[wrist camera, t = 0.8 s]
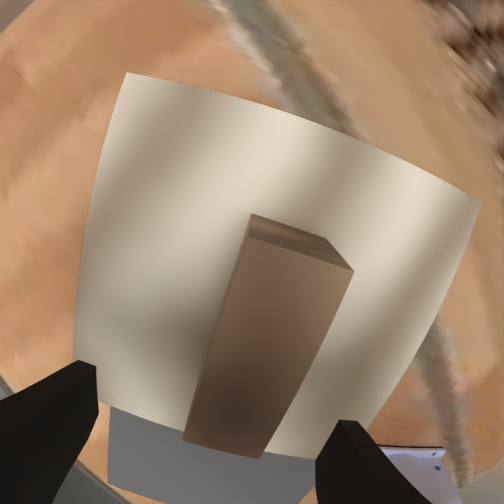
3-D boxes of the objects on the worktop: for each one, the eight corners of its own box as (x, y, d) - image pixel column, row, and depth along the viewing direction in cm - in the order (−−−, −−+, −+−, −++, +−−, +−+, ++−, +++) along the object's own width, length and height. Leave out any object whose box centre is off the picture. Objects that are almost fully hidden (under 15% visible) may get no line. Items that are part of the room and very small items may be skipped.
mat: (364, 415, 21) (365, 420, 20) (277, 521, 25) (277, 524, 25) (118, 350, 20) (115, 354, 19) (109, 479, 24) (107, 483, 24)
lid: (469, 199, 13) (541, 219, 8) (338, 450, 17) (352, 513, 12) (135, 78, 12) (77, 43, 7) (79, 379, 16) (39, 434, 11)
